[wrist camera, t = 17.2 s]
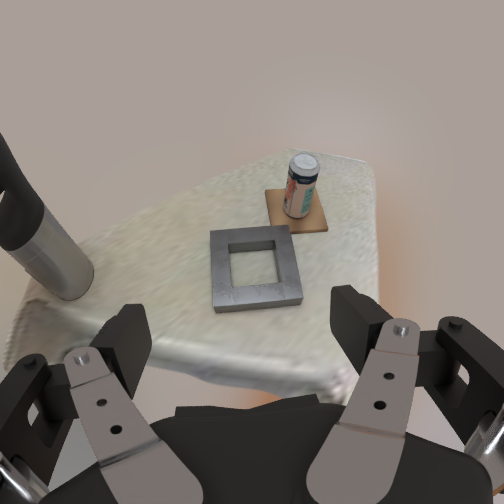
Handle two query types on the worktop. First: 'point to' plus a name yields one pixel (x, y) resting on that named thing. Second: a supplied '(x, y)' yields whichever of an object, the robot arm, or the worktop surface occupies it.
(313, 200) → the walnut coaster
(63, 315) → the worktop surface
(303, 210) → the beer can
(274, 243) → the metal collar
